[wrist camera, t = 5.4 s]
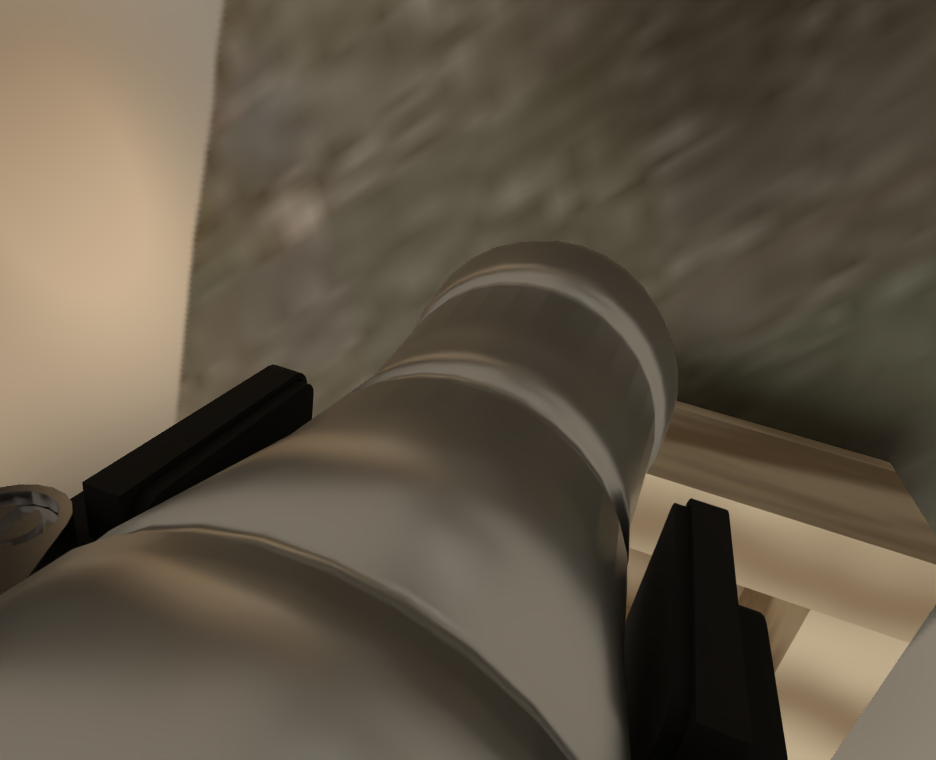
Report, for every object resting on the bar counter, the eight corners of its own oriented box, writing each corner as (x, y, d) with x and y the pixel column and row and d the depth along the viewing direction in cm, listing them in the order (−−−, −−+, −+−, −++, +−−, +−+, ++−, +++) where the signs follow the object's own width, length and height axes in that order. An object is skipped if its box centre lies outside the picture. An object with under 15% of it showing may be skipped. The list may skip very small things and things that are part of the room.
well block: (557, 366, 36) (523, 434, 28) (890, 462, 33) (957, 571, 25) (495, 595, 44) (455, 700, 36) (760, 694, 40) (780, 834, 32)
